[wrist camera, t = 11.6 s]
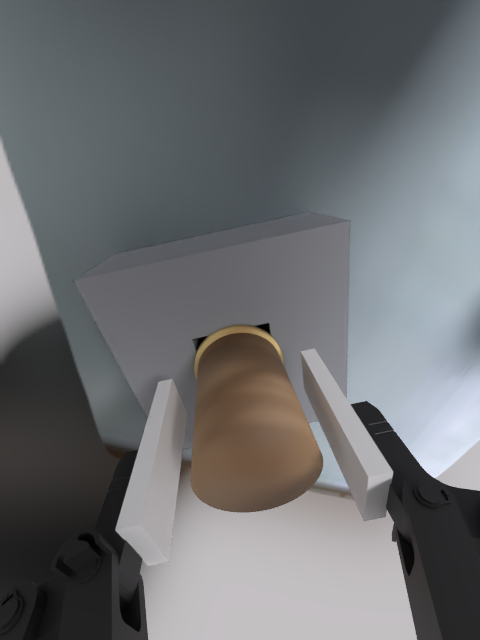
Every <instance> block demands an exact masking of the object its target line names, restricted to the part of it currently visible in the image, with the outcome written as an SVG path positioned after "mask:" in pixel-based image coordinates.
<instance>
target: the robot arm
mask: <svg viewBox="0 0 480 640" xmlns="http://www.w3.org/2000/svg"><path fill="white" fill-rule="evenodd" d="M301 360H302V371H303V382H304V390H305V392H306V394H307V396H308V398H309V401H310V403H311V405H312V407H313V409H314V412H315V414H316V416H317V418H318V420H319V423H320V425H321V427H322V429H323V432H324V434H325V436H326V438H327V440H328V443H329V445H330V447H331V449H332V451H333V454H334V456H335V458H336V460H337V462H338V465H339V467H340V469H341V471H342V473H343V476H344V478H345V480H346V482H347V484H348V487H349V489H350V491H351V493H352V495H353V498H354V500H355V502H356V504H357V506H358V509H359V511H360V513H361V515H362V517H363V520H364V521H367V520H372V519H377V518H382V517H385V516H386V511H387V510H388V512H389V514H390V516H391V517H392V519H393V521H394V526H393V531H392V541H394V542H396V541H397V546H398V550H399V555H400V559H401V564H402V569H403V574H404V579H405V583H406V588H407V593H408V597H409V602H410V607H411V611H412V616H413V621H414V625H415V630H416V635H417V640H480V491H476V490H469V489H461V488H456V487H452V486H448V485H446V484H443V483H441V482H440V481H438V480H436V479H435V478H433V477H432V476H430V475H429V474H428V473H427V472H426V471H425V470H424V469H423V468H422V467H421V466H420V464H419V463H418V462H417V460H416V459H415V458H414V456H413V455H412V454H411V452H410V451H409V450H408V448H407V447H406V446H405V444H404V443H403V442H402V440H401V439H400V438H399V436H398V435H397V434H396V432H394V431H393V428H392V427H391V426H390V424H389V423H387V421H386V419H385V418H384V416H383V415H382V414H381V412H380V411H379V410H378V409H377V408H376V407H374V406H373V405H371V404H370V403H369V402H367V401H365V402H360V403H355V404H350V403H349V402H348V400H347V398H346V397H345V395H344V394H343V392H342V391H341V389H340V387H339V386H338V384H337V383H336V381H335V380H334V378H333V376H332V375H331V373H330V372H329V370H328V369H327V367H326V365H325V364H324V362H323V361H322V359H321V358H320V356H319V354H318V353H317V351H316V350H315V348H314V349H310V350H305V351H301ZM186 418H187V412H186V410H185V408H184V405H183V403H182V400H181V398H180V396H179V393H178V391H177V389H176V386H175V384H174V381H173V379H169V380H164V381H159V382H158V385H157V389H156V392H155V395H154V399H153V402H152V406H151V409H150V413H149V416H148V419H147V423H146V426H145V430H144V433H143V437H142V440H141V443H140V447H139V450H136V451H131V452H126V453H125V455H124V456H123V458H122V459H121V460H120V462H119V464H118V465H117V467H116V470H115V473H114V476H113V481H112V482H111V484H110V487H109V492H108V493H107V496H106V498H105V501H104V504H103V507H102V510H101V513H100V515H99V518H98V521H97V524H96V527H95V529H94V528H89V527H87V528H84V529H81V530H79V531H77V532H76V533H75V534H73V535H72V536H71V537H69V539H67V541H66V542H65V543H64V544H63V545H62V546H61V548H60V549H59V551H58V553H57V554H56V556H55V558H54V561H53V563H52V567H51V571H52V572H54V573H55V574H57V575H55V576H54V577H52V578H50V579H49V580H47V581H45V582H44V583H42V584H40V585H39V586H36V585H35V584H33V583H32V582H26V583H22V584H20V585H18V586H16V587H14V588H13V589H12V590H11V591H10V592H8V593H7V594H6V595H5V596H4V597H3V598H2V599H1V600H0V640H148V633H147V622H146V609H145V597H144V586H143V580H142V576H141V575H140V568H141V563H142V560H143V561H144V562H145V563H146V564H147V565H148V566H150V565H155V564H160V563H165V562H169V557H170V549H171V541H172V533H173V525H174V516H175V507H176V500H177V492H178V484H179V476H180V467H181V459H182V451H183V443H184V435H185V427H186Z"/></svg>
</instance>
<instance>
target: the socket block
mask: <svg viewBox="0 0 480 640" xmlns="http://www.w3.org/2000/svg"><path fill="white" fill-rule="evenodd" d="M349 243H350V220H345V219H340V218H336V217H331V216H327V215H322V214H317V213H313V212H305V213H300V214H295V215H291V216H286V217H282V218H277V219H272V220H268V221H263V222H259V223H254V224H249V225H245V226H240V227H236V228H231V229H227V230H222V231H217V232H213V233H208V234H204V235H199V236H194V237H190V238H185V239H181V240H176V241H171V242H167V243H162V244H158V245H153V246H148V247H144V248H139V249H135V250H130V251H125V252H121V253H116V254H114V255H113V256H111V257H109V258H108V259H106V260H105V261H103V262H102V263H100V264H98V265H97V266H95V267H94V268H92V269H90V270H89V271H87V272H86V273H84V274H83V275H81V276H79V277H78V278H76V279H75V280H73V282H74V284H75V286H76V288H77V289H78V291H79V293H80V295H81V297H82V299H83V301H84V302H85V304H86V306H87V308H88V310H89V312H90V313H91V315H92V317H93V319H94V321H95V323H96V325H97V326H98V328H99V330H100V332H101V334H102V336H103V338H104V339H105V341H106V343H107V345H108V347H109V349H110V351H111V352H112V354H113V356H114V358H115V360H116V362H117V364H118V365H119V367H120V369H121V371H122V373H123V375H124V376H125V378H126V380H127V382H128V384H129V386H130V388H131V389H132V391H133V393H134V395H135V397H136V399H137V401H138V402H139V404H140V406H141V408H142V410H143V412H144V414H145V415H146V417H147V419H148V416H149V413H150V409H151V406H152V402H153V399H154V395H155V392H156V389H157V385H158V382H159V381H164V380H169V379H173V381H174V384H175V386H176V389H177V391H178V393H179V396H180V398H181V400H182V403H183V405H184V408H185V410H186V412H187V418H186V427H185V435H184V443H183V449H188V448H192V447H193V433H194V418H195V403H196V388H197V380H196V377H195V371H194V366H195V357H196V353H197V350H198V348H199V346H200V345H201V343H202V342H203V341H204V340H205V339H206V338H207V337H208V336H209V335H210V334H212V333H213V332H215V331H217V330H219V329H221V328H224V327H227V326H231V325H241V324H243V325H251V326H256V325H261V328H262V329H263V330H265V331H266V332H268V333H269V334H270V335H271V336H272V337H273V338H274V339H275V340H276V342H277V343H278V345H279V348H280V350H281V352H282V355H283V362H284V364H283V365H284V368H285V370H286V372H287V375H288V377H289V379H290V382H291V384H292V386H293V389H294V391H295V393H296V396H297V398H298V400H299V402H300V405H301V407H302V409H303V412H304V414H305V416H306V419H307V421H308V423H311V422H316V421H319V420H318V418H317V416H316V414H315V412H314V409H313V407H312V405H311V403H310V401H309V398H308V396H307V394H306V392H305V390H304V382H303V371H302V360H301V351H305V350H310V349H314V348H315V350H316V351H317V353H318V354H319V356H320V358H321V359H322V361H323V362H324V364H325V365H326V367H327V369H328V370H329V372H330V373H331V375H332V376H333V378H334V380H335V381H336V383H337V384H338V386H339V387H340V389H341V391H342V392H343V394H344V395H345V397H346V398H347V350H348V297H349Z"/></svg>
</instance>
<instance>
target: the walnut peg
mask: <svg viewBox="0 0 480 640" xmlns="http://www.w3.org/2000/svg"><path fill="white" fill-rule="evenodd" d="M283 364H284V362H283V355H282V352H281V350H280V348H279V345H278V343H277V342H276V340H275V339H274V338H273V337H272V336H271V335H270V334H269V333H268V332H266V331H265V330H263V329H261V328H258V327H256V326H251V325H243V324H241V325H231V326H227V327H224V328H221V329H219V330H217V331H215V332H213V333H212V334H210V335H209V336H208V337H207V338H206V339H205V340H204V341H203V342H202V343H201V345H200V346H199V348H198V350H197V353H196V357H195V366H194V371H195V377H196V380H197V388H196V403H195V418H194V433H193V448H192V464H191V479H190V481H191V487H192V489H193V491H194V493H195V495H196V496H197V497H198V498H199V499H200V500H202V501H203V502H204V503H206V504H208V505H209V506H212V507H214V508H217V509H221V510H224V511H230V512H256V511H262V510H268V509H271V508H275V507H278V506H281V505H283V504H286V503H288V502H290V501H292V500H294V499H296V498H298V497H299V496H301V495H302V494H304V493H305V492H306V491H307V490H308V489H310V488H311V487H312V486H313V484H314V483H315V482H316V481H317V479H318V478H319V476H320V474H321V471H322V468H323V457H322V454H321V451H320V449H319V447H318V444H317V442H316V440H315V437H314V435H313V433H312V430H311V428H310V426H309V423H308V421H307V419H306V416H305V414H304V412H303V409H302V407H301V405H300V402H299V400H298V398H297V396H296V393H295V391H294V389H293V386H292V384H291V382H290V379H289V377H288V375H287V372H286V370H285V368H284V365H283Z"/></svg>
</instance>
